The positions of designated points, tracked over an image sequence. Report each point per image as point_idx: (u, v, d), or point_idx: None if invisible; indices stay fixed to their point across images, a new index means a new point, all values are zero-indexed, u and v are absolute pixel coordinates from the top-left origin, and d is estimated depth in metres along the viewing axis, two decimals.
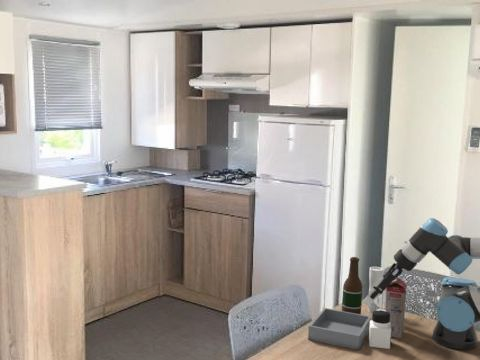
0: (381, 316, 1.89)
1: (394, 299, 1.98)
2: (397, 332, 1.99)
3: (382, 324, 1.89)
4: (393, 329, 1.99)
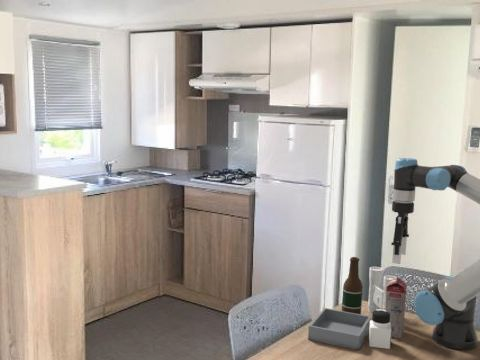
0: (381, 316, 1.89)
1: (394, 299, 1.98)
2: (397, 332, 1.99)
3: (382, 324, 1.89)
4: (393, 329, 1.99)
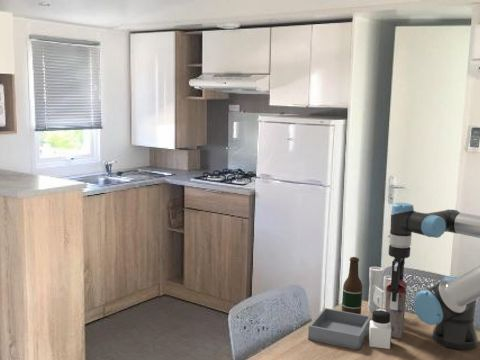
0: (381, 316, 1.89)
1: None
2: (397, 332, 1.99)
3: (382, 324, 1.89)
4: (393, 329, 1.99)
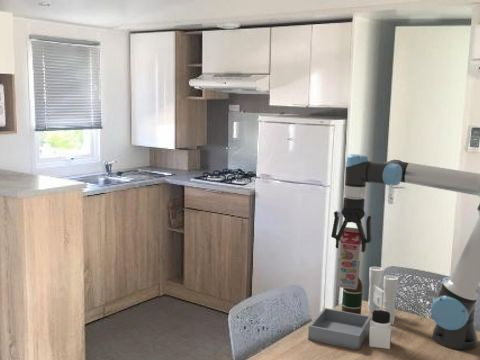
0: (381, 316, 1.89)
1: None
2: None
3: (382, 324, 1.89)
4: None
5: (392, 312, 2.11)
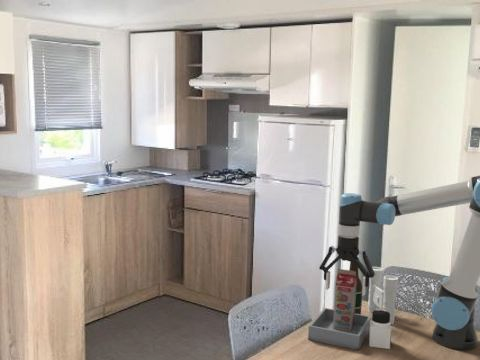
0: (381, 316, 1.89)
1: None
2: None
3: (382, 324, 1.89)
4: None
5: (392, 312, 2.11)
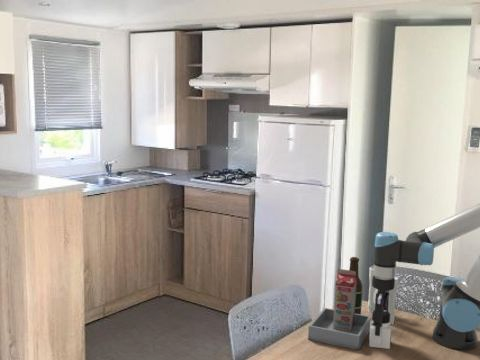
0: None
1: None
2: None
3: (382, 324, 1.89)
4: None
5: (392, 312, 2.11)
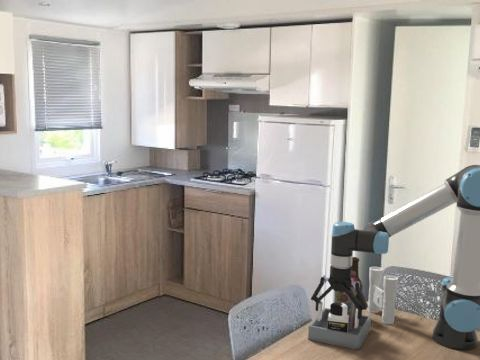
0: (330, 305, 1.96)
1: None
2: None
3: (330, 313, 1.95)
4: None
5: (392, 312, 2.11)
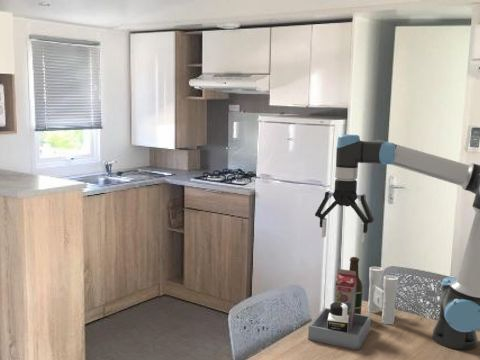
0: (330, 305, 1.96)
1: None
2: None
3: (330, 313, 1.95)
4: None
5: (392, 312, 2.11)
